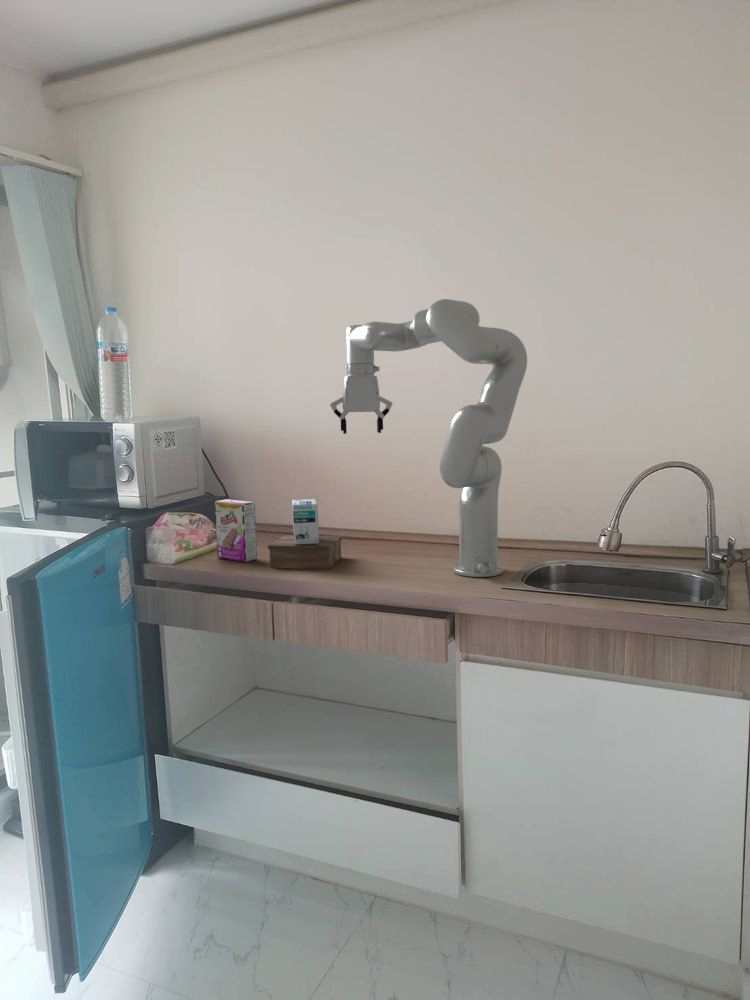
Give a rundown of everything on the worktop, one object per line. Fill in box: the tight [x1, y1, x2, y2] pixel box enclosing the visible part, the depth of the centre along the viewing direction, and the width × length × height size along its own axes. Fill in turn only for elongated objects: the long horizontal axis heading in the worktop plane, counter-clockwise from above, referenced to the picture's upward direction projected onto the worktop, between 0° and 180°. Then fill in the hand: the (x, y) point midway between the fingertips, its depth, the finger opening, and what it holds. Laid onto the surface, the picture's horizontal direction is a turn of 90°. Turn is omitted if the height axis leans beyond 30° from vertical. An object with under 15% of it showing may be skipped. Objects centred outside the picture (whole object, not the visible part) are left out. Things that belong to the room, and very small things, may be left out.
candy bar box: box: [214, 498, 258, 563], centre depth 204 cm, size 11×5×16 cm, turn 57°
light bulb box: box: [291, 498, 320, 545], centre depth 197 cm, size 11×7×11 cm, turn 7°
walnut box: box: [267, 534, 343, 569], centre depth 199 cm, size 15×17×6 cm
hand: (362, 433), depth 204 cm, fingers open, 9 cm apart
